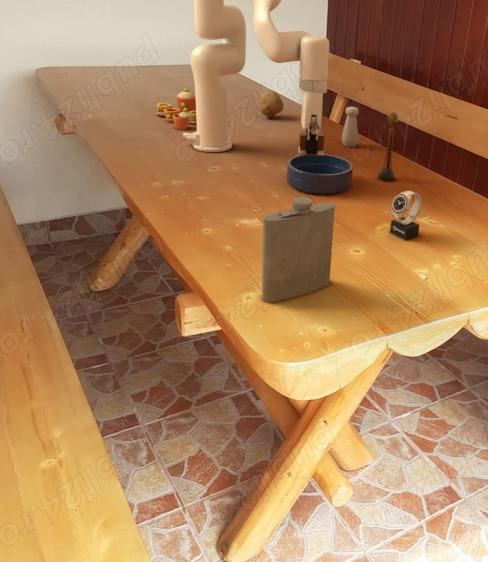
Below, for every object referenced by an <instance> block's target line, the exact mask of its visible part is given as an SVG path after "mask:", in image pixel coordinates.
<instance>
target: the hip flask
mask: <svg viewBox="0 0 488 562" xmlns="http://www.w3.org/2000/svg"><path fill="white" fill-rule="evenodd" d="M292 206H293V208H291V209H287V210H282V211H280V212H275V213H269V214H268V213H267V214H264V215H263V217H262V271H261V272H262V274H261V275H262V279H261V280H262V283H261V285H262V286H261V289H262V290H261V291H262V292H261V299H262V301H264V302H266V303H276V302H281V301H285V300H291V299H293V298H297V297H302V296H304V295H307V294H310V293H313V292H315V291H318V290H321V289H322V288H325V287H326V286H329V285H330V282H331V281H330V280H331V269H332V268H331V267H332V266H331V265H332V251H333V237H334V224H335V223H334V222H335V207H336V205H335V204H334V203H333V202H331V201H321V202H319V203H316V204H313V200H312V199H311V198H309V197H304V196H299V197H295V198H293V199H292Z"/></svg>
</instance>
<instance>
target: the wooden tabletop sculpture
mask: <svg viewBox="0 0 488 562" xmlns="http://www.w3.org/2000/svg"><path fill="white" fill-rule="evenodd" d="M387 123H388V125H389V126H390V127H389V128H388V136H387V137H388V138H387V146H386V152H385V153H386V154H385V158H384V164H383V167H382V169H381V170H380V172H379V173H378V177H377V179H378V180H379V181H381V182H387V183H388V182H389V183H390V182H394V180H395V173H394V171H393V165H392V164H393V163H392V161H393V160H392V159H393V158H392V157H393V143H394V134H395V129H394V127H396V125H397V126H399V125H400V124H401V122H400V120H399V117H398V115H397V113H396V112H390V113H389V114H388V115H387Z"/></svg>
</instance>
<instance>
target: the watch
mask: <svg viewBox="0 0 488 562" xmlns="http://www.w3.org/2000/svg"><path fill="white" fill-rule="evenodd" d="M413 196H414V202H413V203H412V205H411V201H412V198H413ZM390 208H391V214H392V217H393V219H392V220H390V228H389V229H390V230H389V233H391V234H393V235H395V236H396V237H399V238H400V239H402V240H404V241H407V240H411V239H414V238H418V237H419V233H420V224H419V223H417V222H415V220H416V219H417V218H418V216H419V214H420V212H421V208H422V197H421V195H420V194H419V193H417V192H414V191H412V190H404V191H402V192H400V193H398V194H397V195H395V196H394V197H393V199H391V203H390ZM408 211H409V212H408ZM407 212H408V214H407V217H405V216H404V215H405V214H406V213H407Z"/></svg>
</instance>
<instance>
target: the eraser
mask: <svg viewBox="0 0 488 562" xmlns="http://www.w3.org/2000/svg"><path fill="white" fill-rule="evenodd" d="M310 133H311V132H310ZM307 134H308V132H306V131H299V136H298V137H299V138H298V147H297V149H298V155H307V154H306V140H307ZM324 149H325V134H324V132H322V131H318V154H317V155H324V154H325V150H324Z"/></svg>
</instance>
